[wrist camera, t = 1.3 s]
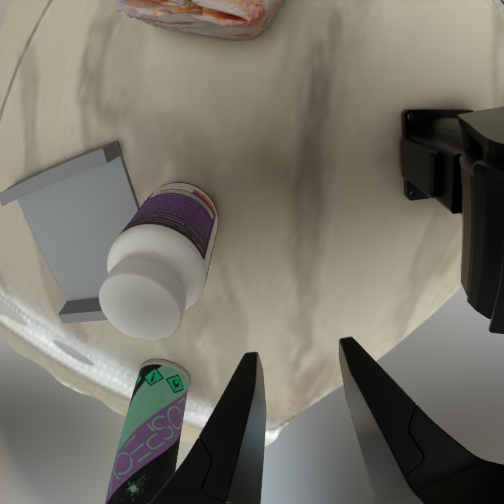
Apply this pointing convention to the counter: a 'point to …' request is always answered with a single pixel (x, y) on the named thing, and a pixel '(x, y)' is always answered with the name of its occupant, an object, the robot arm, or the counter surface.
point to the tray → (78, 222)
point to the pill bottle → (160, 262)
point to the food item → (205, 15)
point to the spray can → (150, 434)
